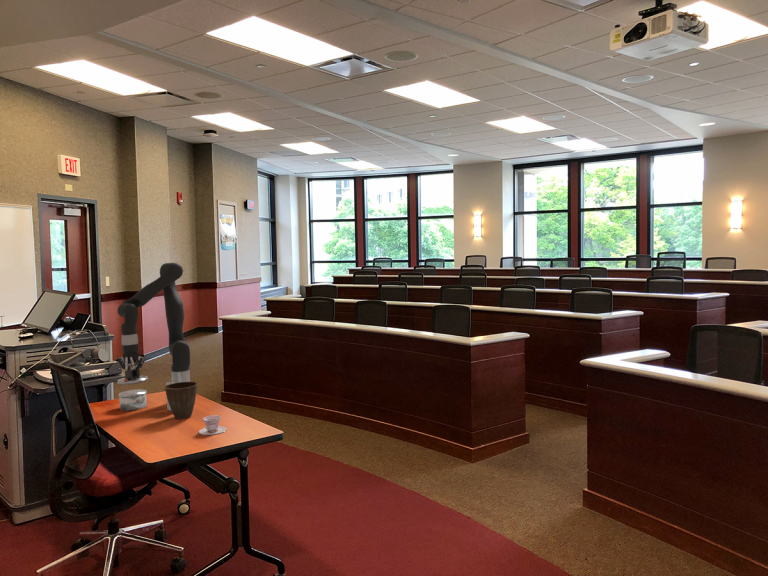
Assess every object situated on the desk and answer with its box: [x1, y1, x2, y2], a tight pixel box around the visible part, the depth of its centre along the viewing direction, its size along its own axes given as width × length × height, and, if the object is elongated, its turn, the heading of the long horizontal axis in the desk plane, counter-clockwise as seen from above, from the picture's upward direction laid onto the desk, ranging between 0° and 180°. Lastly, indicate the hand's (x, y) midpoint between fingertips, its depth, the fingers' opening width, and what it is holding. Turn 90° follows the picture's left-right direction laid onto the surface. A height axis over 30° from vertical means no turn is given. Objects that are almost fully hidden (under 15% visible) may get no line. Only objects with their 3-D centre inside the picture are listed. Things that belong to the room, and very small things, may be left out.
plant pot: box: [164, 381, 198, 420], centre depth 281 cm, size 15×15×16 cm
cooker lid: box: [117, 367, 149, 386], centre depth 288 cm, size 14×14×6 cm
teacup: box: [198, 414, 227, 436], centre depth 257 cm, size 12×12×6 cm
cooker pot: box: [118, 388, 148, 412], centre depth 302 cm, size 14×14×8 cm
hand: (132, 377), depth 289 cm, fingers closed on cooker lid, 3 cm apart
